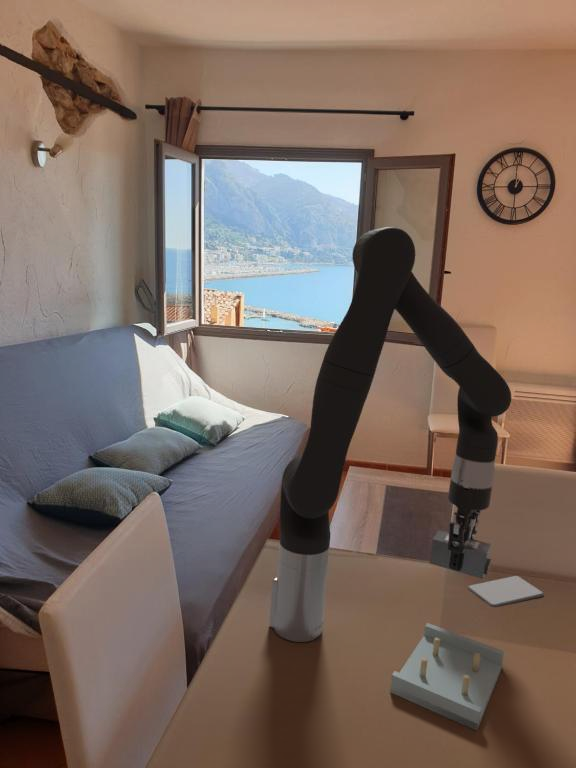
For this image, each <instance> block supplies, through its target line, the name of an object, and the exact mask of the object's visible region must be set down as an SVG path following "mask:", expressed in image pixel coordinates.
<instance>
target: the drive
mask: <svg viewBox="0 0 576 768" xmlns="http://www.w3.org/2000/svg"><path fill="white" fill-rule="evenodd" d="M448 542H449V532H447V531H443V530H439V529H438V530H437V532H436V534H435V535H434V536H433V538H432V541H431V551H430V556H429V564H431V565H433V566H437V567H441V568H444V569H447V570H451V571H454V572H456V573H457V572H458V573H462V574H464V575H468V576H471V577H476V578H479V579H480V580H481V579H482V580H483V579H484V578H485V575H486V576H487V575H488V573H489V571H490V567H491V562H492V561H491V560H492V559H491V558H490V552H491V547H492V546H491V545H492V544H491V543H488V542H486V541H480V540H478V539H475V538H474V539H470V540H469V541H467V542H466V547H465V552H464V557H463V563H462V569H461V570H460V571H456V570H453V569H451V568H450V567H449V563H450V556H451V551H450V550H448ZM455 544H456V545H459V543H458V542H455Z"/></svg>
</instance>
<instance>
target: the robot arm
mask: <svg viewBox="0 0 576 768" xmlns="http://www.w3.org/2000/svg"><path fill="white" fill-rule="evenodd" d="M351 259H352V263H353V267H354V269H355V271H356V272H357V274H358V275H357V280H356V285H355V288H354V292H353V295H352V296H353V297H352V299H351V302H350V305H349V308H348V310H347V311H346V314H345V315H344V317H343V319H342V320H341V322H340V324H339V325H338V327H337V329H336V330H335V333H334V334H333V336H332V338H331V340H330V341H329V344H328V347H326V348H327V349H326V351H325V354H324V355H323V359H322V361H321V366H320V368H319V372H318V374H317V375H318V376H317V379H316V382H315V387H314V391H313V397H312V399H313V400H312V408H311V417H310V418H311V419H310V428H309V433H308V438H307V441H306V444H305V448H304V450H303V453H302V455H298V456H295V458H293V459H292V460H290V461H289V462H288V464H286V467H285V469H284V471H283V473H282V477H281V486H280V488H281V489H280V507H279V546H278V547H279V548H278V557H277V558H278V559H277V561H278V562H277V575H276V577H274V578H273V579H272V582H271V595H270V596H271V597H270V608H269V609H270V612H269V623H268V625H269V627H270V628H272V629H273V630H274V631H275V633H276V634H277V635H278V636H279V637H281V638H283V639H284V640H287V641H291V642H296V643H306V642H307V643H308V642H311V641H314V640H315V639H318V637H320V636H321V634H322V632H323V624H324V614H325V613H324V611H325V602H326V589H327V577H328V566H329V556H330V545H331V527H330V516H329V515H330V514H329V513H330V510H331V509H332V508H333V506H334V505H335V503H336V502H337V498H338V496H339V491H340V487H341V482H342V477H343V473H344V468H345V463H346V460H347V456H348V451H349V448H350V445H351V442H352V440H353V437H354V434H355V431H356V428H357V426H358V423H359V421H360V419H361V418H360V417H361V414H362V411H363V409H364V406H365V404H366V400H367V398H368V395H369V393H370V390H371V386H372V383H373V381H374V378H375V375H376V371H377V368H378V364H379V362H380V361H379V360H380V357H381V354H382V350H383V348H384V345H385V342H386V338H387V333H388V331H389V327H390V323H391V320H392V317H393V314H394V311H395V310H396V312H397V313H398V314H399V315H400V317H401V318H402V319H403V320H404V321H405V323H406V325H407V326H409V328H410V329H411V331H412V333H413V334H415V336H416V338H417V339H418V340H419V342H420V343H421V344H422V345H423V347H424V348H425V350H426V352H427V353H428V354H429V355H430V356H431V358H432V359H433V360H434V362H435V363H436V365H437V366H438V367H439V368H440V370H441V371H442V372H443V373H444V374H445V375H446V376H447V377H449V378H450V379H451V380H453V381H454V382H455V383H456V385H458V391H457V400H456V401H457V404H456V406H457V421H458V429H459V430H458V437H457V440H456V441H457V442H456V448H455V455H454V459H453V462H452V467H451V473H450V481H449V488H448V495H447V499H448V501H449V502H450V503H451V504H452V505H454V506H455V507H456V508H457V510H456V511H454V512H453V516H452V521H451V522H450V523H449V532H448V533H449V542H448V550H450V551H451V556H450V563H449V567H450V568H451V569H453V570H452V571H454V570H456V571H455V572H457V571H460V570H461V569H462V563H463V557H464V552H465V547H466V542H467V541H469V540H470V539H474V540H475V536H476V534H477V533H478V526H479V521H480V515H481V511H483V510H487V509H488V508H489V507H490V502H491V497H492V496H491V495H492V490H493V483H494V478H495V470H496V469H495V467H496V466H495V465H496V463H495V462H496V455H497V448H498V440H499V436H498V435H499V434H498V431H497V430H496V429H495V427H494V425H493V420H492V419H493V418H494V417H498V416H501V415H503V414H504V413H506V412H507V410H509V408H510V406H511V403H512V392H511V389H510V386H509V385H508V382H506V380H505V378H503V376H502V375H501V374H500V373H499V372H498V371H497V370H496V369H495V368H494V367H493V366H492V365H491V364H490V363H489V361H488V360H486V358H485V357H483V356H482V355H481V353H480V352H479V351H478V349H477V348H476V347H475V345H474V343H473V342H472V341H471V339H470V338H469V336H467V334H466V332H465V331H464V329H462V327H461V325H460V324H459V323H458V322H457V321H456V320H455V319H454V318H453V316H451V315H450V313H448V311H447V310H445V309H444V308H443V307H442V306H441V305H440V304H439V303H438V302H437V301H436V300H435V299H434V298H433V297H432V296H431V295H430V294H429V292H427V290H426V289H425V288H424V287H423V286H422V285H421V283H420V282H419V280H418V279H417V277H416V276H415V274H414V273H413V272H412V271H413V269H414V265H415V261H416V247H415V244H414V241H413V239H412V237H411V236H410V235H409V233H408V232H407V231H405V230H403V229H402V228H399V227H395V226H386V227H380V228H376V229H372V230H369V231H367V232H365V233H364V234H362V235H361V236H360V237H359V238H358V239H357V241H356V242H355V243H354V247H353V249H352V257H351ZM455 542H458V543H459V545H456V544H455Z"/></svg>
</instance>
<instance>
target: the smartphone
mask: <svg viewBox="0 0 576 768" xmlns="http://www.w3.org/2000/svg"><path fill="white" fill-rule="evenodd" d="M467 590H469V591H470V592H472V593H473V594H474V595H476V596H477V597H478V598H480V599H481V600H483V601H484V602H485V603H486V604H487V605H489V606H491V607H501V606H503V605H504V606H505V605H509V604H510V605H511V604H515V603H518V602H522V601H523V602H524V601H527V600H531V599H532V600H533V599H536V598H540V597H541V598H542V597H543V596H544V592H543V591H542V590H540V589H539V588H537V587H536V586H534V585H532V584H531V583H529V582H528V581H527V580H525V579H523V578H522V577H520V576H518V575H513V576H507V577H503V578H497V579H493V580H489V581H483V582H479V583H474V584H470V585H467Z"/></svg>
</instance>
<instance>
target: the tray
mask: <svg viewBox="0 0 576 768" xmlns="http://www.w3.org/2000/svg"><path fill="white" fill-rule="evenodd" d="M504 658H505V650H502V649H499V648H496V647H493V646H491V645H488V644H486V643H483V642H481V641H478V640H476V639H472V638H469V637H467V636H463V635H461V634H458V633H456V632H454V631H451V630H448V629H445V628H442V627H440V626H437V625H434V624H431V623H429V622H427V623H426V624H425V625H424V633H423V636H422V638H421V639H420V641H419V642H418V643H417V645H416V647H415V648H414V650H413V652H411V655H410V656H409V657H408V659H407V660H406V662H405V664H404V666H402V668H401V670H400V671H399V672H398V671H396V670H395V671H394V670H393V673H392V674H391V681H390V688H389V689H390V690H389V693H391V694H393V695H396V696H397V697H400V698H402V699H404V700H407V701H409V702H411V703H412V704H413V703H414V704H416V705H418V706H419V707H422V708H425V709H427V710H429V711H431V712H434V713H436V714H438V715H440V716H442V717H444V718H447V719H448V720H452V721H454V722H455V723H458V724H461V725H463V726H465V727H467V728H470V729H472V730H474V731H478V730H479V726H480V724H481V722H482V719H483V716H484V714H485V711H486V709H487V706H488V704H489V702H490V698H492V694H493V691H494V689H495V686H496V683H497V681H498V678H499V676H500V674H501V671H502V669H503V663H504Z"/></svg>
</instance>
